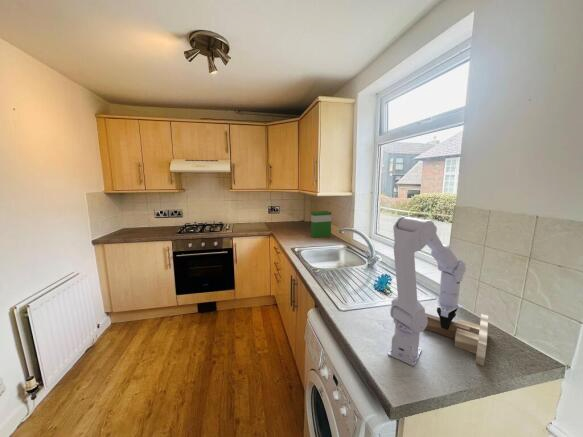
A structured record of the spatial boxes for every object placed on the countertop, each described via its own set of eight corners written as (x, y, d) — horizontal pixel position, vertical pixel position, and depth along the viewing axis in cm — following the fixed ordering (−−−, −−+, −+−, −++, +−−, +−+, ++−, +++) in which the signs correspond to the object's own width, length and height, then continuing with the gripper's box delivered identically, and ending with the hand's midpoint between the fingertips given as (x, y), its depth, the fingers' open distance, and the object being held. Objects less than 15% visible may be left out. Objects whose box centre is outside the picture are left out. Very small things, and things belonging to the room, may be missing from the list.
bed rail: (467, 343, 83) (469, 330, 82) (422, 327, 92) (423, 315, 91) (468, 340, 85) (470, 326, 84) (423, 324, 94) (424, 312, 93)
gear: (370, 282, 130) (384, 269, 128) (376, 288, 131) (391, 276, 130) (379, 294, 119) (394, 280, 118) (386, 301, 121) (402, 288, 119)
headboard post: (483, 366, 74) (486, 345, 73) (452, 354, 79) (454, 334, 78) (485, 333, 89) (488, 315, 88) (459, 325, 94) (461, 308, 93)
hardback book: (327, 234, 243) (327, 210, 239) (330, 236, 236) (331, 211, 232) (310, 236, 238) (311, 211, 234) (313, 238, 231) (314, 212, 227)
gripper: (460, 302, 78) (456, 341, 80) (465, 287, 89) (461, 321, 91) (435, 296, 82) (431, 333, 85) (442, 281, 93) (439, 314, 96)
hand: (445, 326), depth 88 cm, fingers closed on bed rail, 2 cm apart
